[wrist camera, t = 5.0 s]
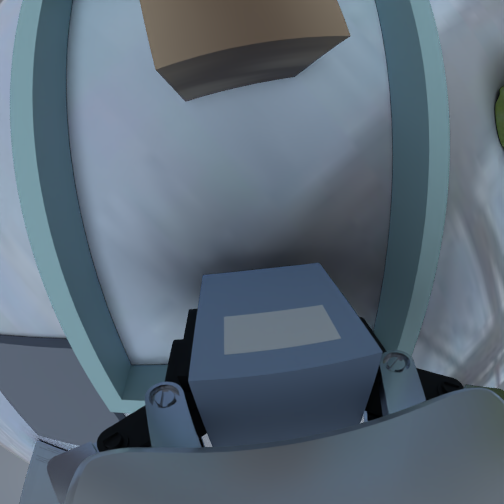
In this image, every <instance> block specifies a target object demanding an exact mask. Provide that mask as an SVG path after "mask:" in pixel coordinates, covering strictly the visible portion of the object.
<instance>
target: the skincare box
mask: <svg viewBox="0 0 504 504" xmlns="http://www.w3.org/2000/svg"><path fill="white" fill-rule="evenodd" d="M64 452H67V451H64V450H62V449H59V448H56V447H53V446H51V445H49V444H46V443H44V442H41V441H39V440H37V442H36V445H35V448H34V451H33V455H32V458H31V461H30V464H29V468H28V471H27V475H26V479H25V482H24V486H23V490H22V494H21V498H20V503H19V504H59V501H58V499H57V496H56V494H55V491H54V489H53V486H52V484H51V481H50V478H49V475H48V472H47V465H48V462H49V461H50V459H51V458H53V457H54V456H57V455H59V454H62V453H64Z"/></svg>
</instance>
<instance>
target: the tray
mask: <svg viewBox="0 0 504 504" xmlns="http://www.w3.org/2000/svg"><path fill="white" fill-rule="evenodd" d="M72 1H73V0H23V2H22V6H21V10H20V14H19V19H18V24H17V29H16V35H15V42H14V49H13V57H12V68H11V83H10V126H11V142H12V153H13V162H14V169H15V176H16V183H17V189H18V194H19V199H20V204H21V209H22V214H23V218H24V222H25V226H26V230H27V234H28V237H29V241H30V245H31V248H32V251H33V255H34V258H35V261H36V264H37V267H38V270H39V273H40V276H41V278H42V281H43V284H44V287H45V289H46V292H47V294H48V297H49V299H50V302H51V304H52V307H53V309H54V311H55V314H56V316H57V318H58V320H59V323H60V325H61V327H62V329H63V331H64V333H65V335H66V337H67V339H68V341H69V343H70V345H71V347H72V349H73V351H74V353H75V355H76V357H77V358H78V360H79V362H80V364H81V366H82V367H83V369H84V371H85V373H86V374H87V376H88V378H89V379H90V381H91V383H92V384H93V386H94V387H95V389H96V391H97V392H98V394H99V395H100V397H101V398H102V400H103V401H104V403H105V404H106V406H107V407H108V409H109V410H110V412H118V413H133V412H135V411H137V410H138V409H140V408H141V407H143V406H144V405H145V394H146V392H147V390H148V389H149V388H150V387H151V386H153V385H155V384H157V383H160V382H165V377H166V372H167V367H168V365H131V363H130V361H129V359H128V357H127V355H126V352H125V350H124V348H123V345H122V343H121V341H120V338H119V336H118V333H117V331H116V328H115V326H114V323H113V321H112V318H111V315H110V313H109V310H108V307H107V305H106V302H105V299H104V296H103V293H102V290H101V287H100V284H99V281H98V278H97V275H96V271H95V268H94V265H93V261H92V258H91V254H90V251H89V247H88V243H87V239H86V235H85V231H84V227H83V223H82V218H81V213H80V209H79V204H78V199H77V193H76V188H75V182H74V176H73V169H72V162H71V154H70V145H69V135H68V123H67V105H66V59H67V42H68V31H69V22H70V14H71V7H72ZM375 2H376V6H377V10H378V15H379V19H380V24H381V29H382V35H383V41H384V47H385V53H386V60H387V68H388V76H389V86H390V97H391V111H392V134H393V177H392V201H391V216H390V228H389V238H388V247H387V255H386V263H385V270H384V277H383V283H382V290H381V295H380V301H379V306H378V312H377V317H376V322H375V326H374V331H373V332H374V334H375V335H376V337H377V338H378V339H379V341H380V342H381V344H382V345H383V347H384V348H385V350H386V351H390V350H400V351H404V352H406V353H408V354H409V355H410V356H412V353H413V350H414V347H415V344H416V341H417V339H418V336H419V332H420V329H421V326H422V323H423V320H424V316H425V313H426V309H427V306H428V302H429V298H430V295H431V291H432V287H433V282H434V278H435V274H436V269H437V264H438V259H439V254H440V248H441V243H442V236H443V230H444V223H445V215H446V206H447V196H448V183H449V162H450V128H449V107H448V95H447V85H446V77H445V70H444V63H443V57H442V51H441V46H440V41H439V36H438V32H437V27H436V23H435V19H434V15H433V12H432V8H431V5H430V1H429V0H375Z"/></svg>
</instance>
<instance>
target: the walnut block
mask: <svg viewBox="0 0 504 504" xmlns="http://www.w3.org/2000/svg"><path fill="white" fill-rule="evenodd" d="M140 4H141V9H142V13H143V18H144V23H145V27H146V31H147V36H148V40H149V45H150V49H151V53H152V57H153V61H154V65H155V69H156V71H157V72H158V73H159V74H160V75H161V76H162V77H163V78H164V79H165V80H166V81H167V82H168V83H169V84H170V85H171V86H172V88H173V89H174V90H175V91H176V92H177V93H178V94H179V95H180V96H181V97H182V98H183V99H184V100H185V101H189V100H192V99H195V98H199V97H202V96H206V95H209V94H213V93H217V92H221V91H225V90H229V89H233V88H237V87H242V86H246V85H251V84H256V83H261V82H266V81H272V80H277V79H284V78H290V77H295V76H296V75H298V74H299V73H300V72H301V71H303V70H304V69H305V68H307V67H308V66H309V65H311V64H312V63H313V62H314V61H316V60H317V59H318V58H320V57H321V56H323V55H324V54H325V53H327V52H328V51H329V50H331V49H332V48H334V47H335V46H336V45H338V44H339V43H341V42H342V41H344V40H345V39H347V38H348V37H350V33H349V30H348V28H347V25H346V22H345V19H344V17H343V14H342V11H341V9H340V6H339V4H338V1H337V0H140Z"/></svg>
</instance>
